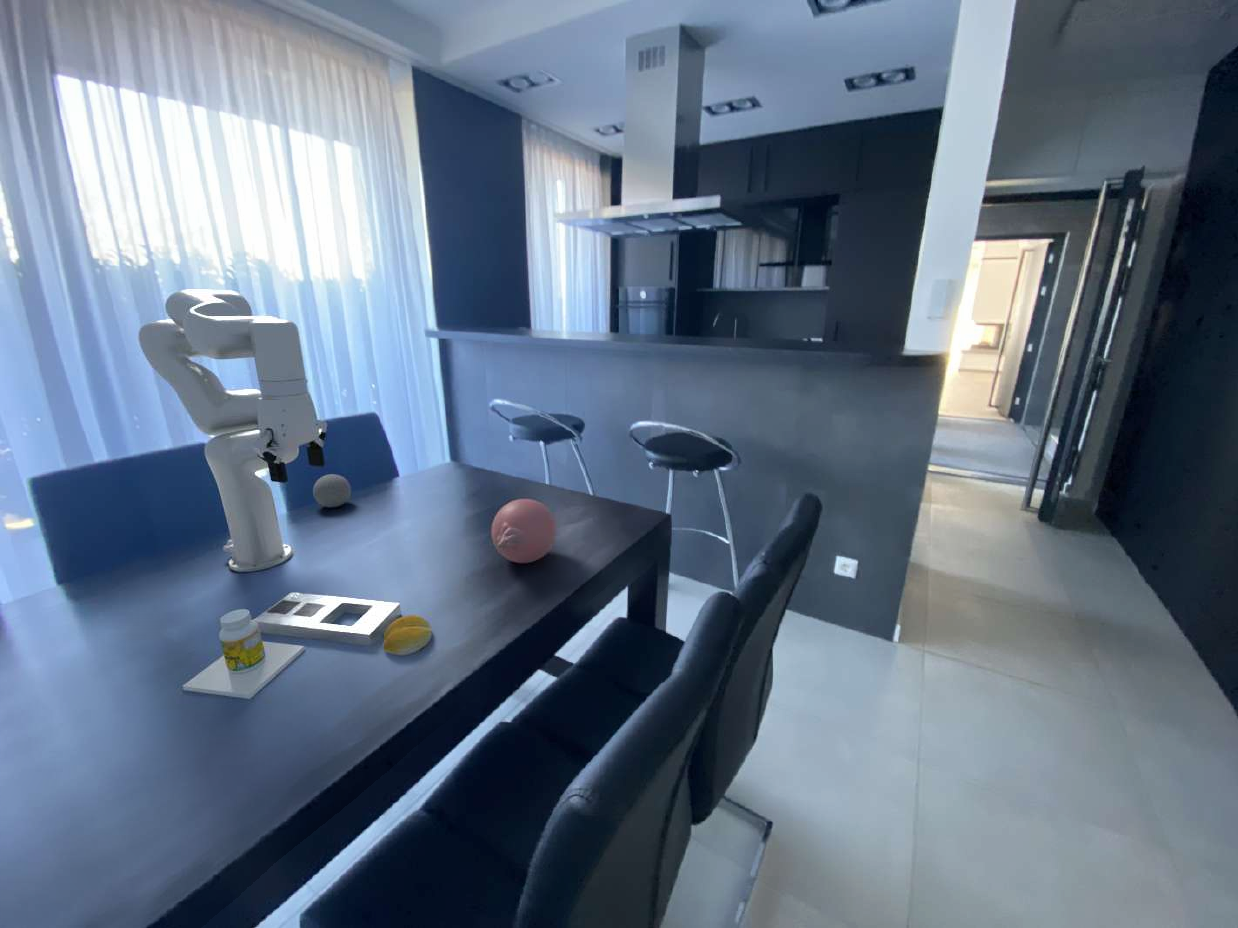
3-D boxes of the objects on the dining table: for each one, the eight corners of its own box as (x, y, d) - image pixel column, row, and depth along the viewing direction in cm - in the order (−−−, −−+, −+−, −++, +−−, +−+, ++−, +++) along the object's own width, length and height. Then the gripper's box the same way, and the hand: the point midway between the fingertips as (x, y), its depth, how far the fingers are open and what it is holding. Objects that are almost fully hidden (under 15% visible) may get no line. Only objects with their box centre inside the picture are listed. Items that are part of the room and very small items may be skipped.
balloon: (469, 577, 116) (463, 516, 111) (514, 540, 134) (511, 486, 129) (528, 590, 111) (525, 526, 107) (567, 550, 129) (566, 494, 125)
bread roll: (383, 662, 89) (380, 643, 88) (386, 632, 97) (383, 614, 96) (432, 651, 92) (430, 633, 91) (431, 623, 100) (429, 605, 99)
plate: (183, 689, 82) (182, 685, 82) (245, 642, 93) (244, 639, 93) (249, 698, 80) (248, 694, 80) (304, 649, 92) (304, 646, 91)
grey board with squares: (254, 632, 96) (251, 620, 95) (293, 602, 106) (291, 591, 105) (371, 645, 93) (369, 633, 92) (401, 613, 102) (399, 602, 102)
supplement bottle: (273, 657, 88) (262, 610, 85) (243, 678, 83) (230, 628, 81) (251, 650, 90) (239, 603, 87) (219, 670, 85) (206, 621, 82)
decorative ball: (360, 501, 158) (355, 471, 155) (336, 514, 148) (331, 482, 145) (333, 498, 160) (328, 468, 157) (308, 510, 151) (302, 479, 148)
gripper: (301, 379, 104) (314, 458, 109) (225, 394, 88) (245, 486, 93) (334, 382, 103) (345, 461, 108) (263, 398, 87) (280, 490, 92)
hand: (299, 473), depth 101 cm, fingers open, 9 cm apart
